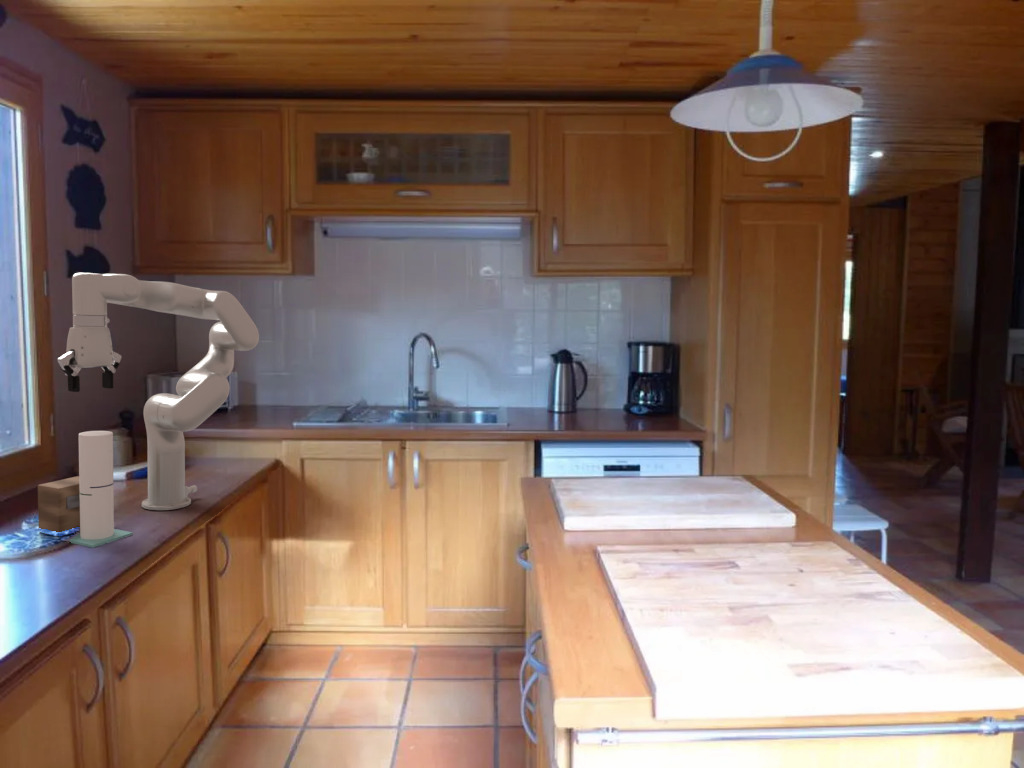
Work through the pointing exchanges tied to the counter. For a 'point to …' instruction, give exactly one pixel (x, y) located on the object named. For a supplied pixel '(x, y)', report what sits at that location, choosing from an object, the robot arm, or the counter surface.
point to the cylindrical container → (96, 484)
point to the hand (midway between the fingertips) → (91, 389)
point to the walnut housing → (59, 504)
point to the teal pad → (98, 542)
